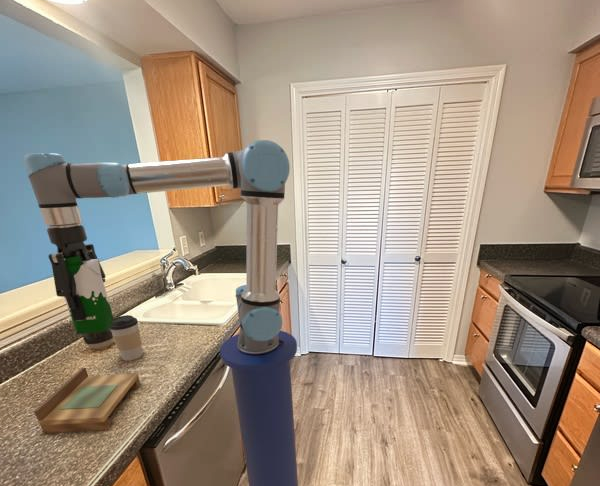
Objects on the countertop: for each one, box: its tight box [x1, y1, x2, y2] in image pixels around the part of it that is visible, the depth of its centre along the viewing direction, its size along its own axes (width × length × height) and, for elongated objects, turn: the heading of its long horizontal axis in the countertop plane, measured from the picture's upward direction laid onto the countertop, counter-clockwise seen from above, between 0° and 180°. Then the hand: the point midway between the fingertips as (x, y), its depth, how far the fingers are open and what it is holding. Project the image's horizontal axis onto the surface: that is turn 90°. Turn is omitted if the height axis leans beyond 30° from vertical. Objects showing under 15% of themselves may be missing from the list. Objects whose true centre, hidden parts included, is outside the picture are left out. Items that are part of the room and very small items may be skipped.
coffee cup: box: [109, 314, 144, 361], centre depth 115 cm, size 9×9×15 cm
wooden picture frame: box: [33, 367, 141, 434], centre depth 90 cm, size 16×20×7 cm
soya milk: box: [63, 255, 115, 335], centre depth 84 cm, size 9×9×20 cm
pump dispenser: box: [82, 328, 115, 350], centre depth 123 cm, size 10×10×15 cm
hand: (92, 312), depth 86 cm, fingers closed on soya milk, 9 cm apart
